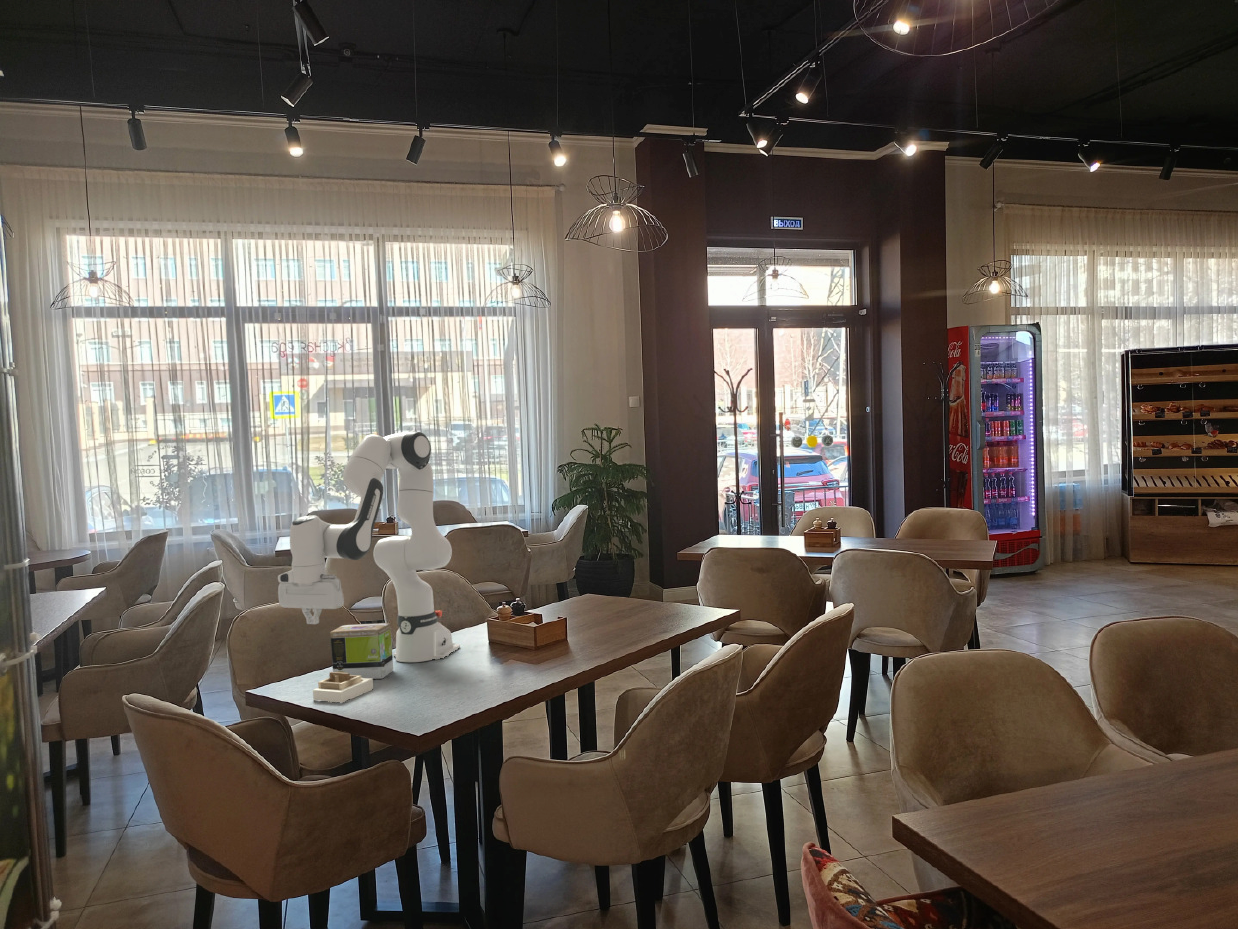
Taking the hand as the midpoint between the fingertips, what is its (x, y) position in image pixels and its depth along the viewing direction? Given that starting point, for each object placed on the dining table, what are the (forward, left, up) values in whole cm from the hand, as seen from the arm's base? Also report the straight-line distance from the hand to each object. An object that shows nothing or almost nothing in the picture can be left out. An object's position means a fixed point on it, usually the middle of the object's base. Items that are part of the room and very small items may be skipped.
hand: (313, 623), depth 241 cm
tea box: (-17, +2, -20) cm, 26 cm away
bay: (+1, +9, -19) cm, 21 cm away
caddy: (+1, +9, -19) cm, 21 cm away
